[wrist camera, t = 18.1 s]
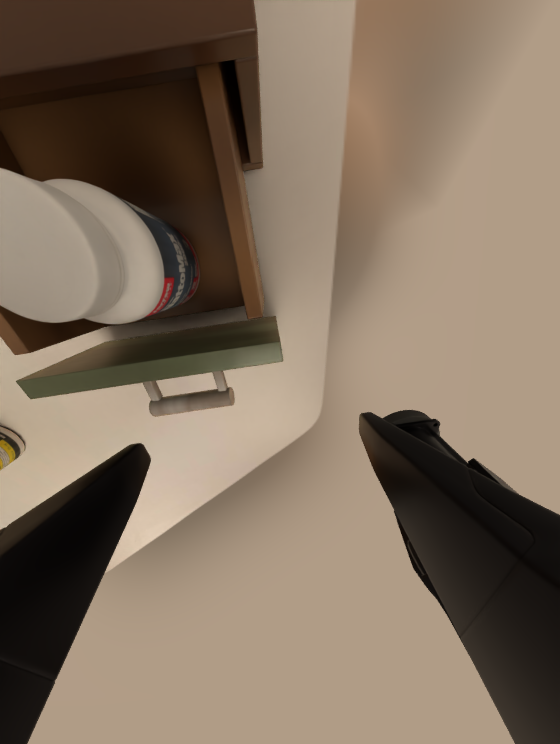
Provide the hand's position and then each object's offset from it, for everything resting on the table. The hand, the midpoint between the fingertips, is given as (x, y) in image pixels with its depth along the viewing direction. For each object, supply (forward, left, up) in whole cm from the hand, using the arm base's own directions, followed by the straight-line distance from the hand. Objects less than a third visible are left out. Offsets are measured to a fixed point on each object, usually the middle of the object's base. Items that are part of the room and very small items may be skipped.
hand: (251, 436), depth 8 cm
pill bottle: (+5, -7, -10) cm, 13 cm away
